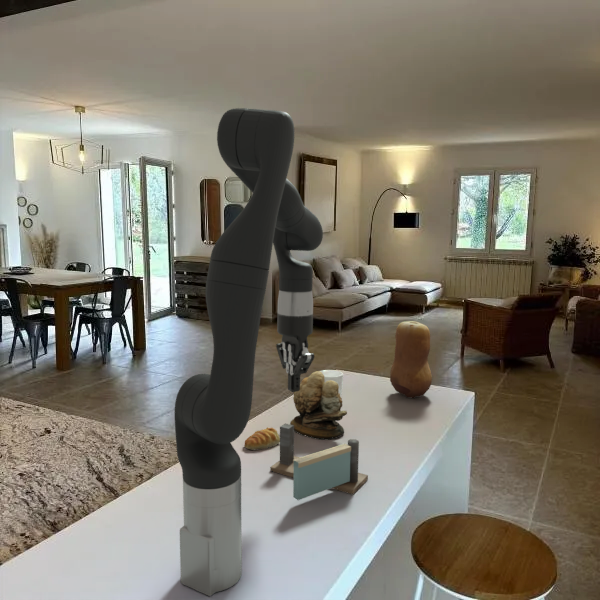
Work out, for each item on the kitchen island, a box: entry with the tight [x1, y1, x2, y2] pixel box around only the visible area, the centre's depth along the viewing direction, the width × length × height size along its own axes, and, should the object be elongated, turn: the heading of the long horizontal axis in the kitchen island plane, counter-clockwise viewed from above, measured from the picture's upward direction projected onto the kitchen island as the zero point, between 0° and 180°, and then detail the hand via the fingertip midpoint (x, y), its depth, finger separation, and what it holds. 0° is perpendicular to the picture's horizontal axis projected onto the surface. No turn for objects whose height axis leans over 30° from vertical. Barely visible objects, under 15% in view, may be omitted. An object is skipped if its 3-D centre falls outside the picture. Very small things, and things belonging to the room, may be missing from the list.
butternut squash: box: [389, 320, 433, 399], centre depth 180 cm, size 14×13×25 cm
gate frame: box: [269, 423, 369, 495], centre depth 124 cm, size 8×21×10 cm, turn 60°
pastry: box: [243, 427, 280, 451], centre depth 141 cm, size 9×7×4 cm
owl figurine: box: [289, 370, 348, 440], centre depth 151 cm, size 18×12×17 cm, turn 50°
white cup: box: [319, 369, 344, 398], centre depth 173 cm, size 8×8×10 cm
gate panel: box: [292, 443, 351, 501], centre depth 115 cm, size 2×14×8 cm, turn 127°
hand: (293, 390), depth 118 cm, fingers closed
